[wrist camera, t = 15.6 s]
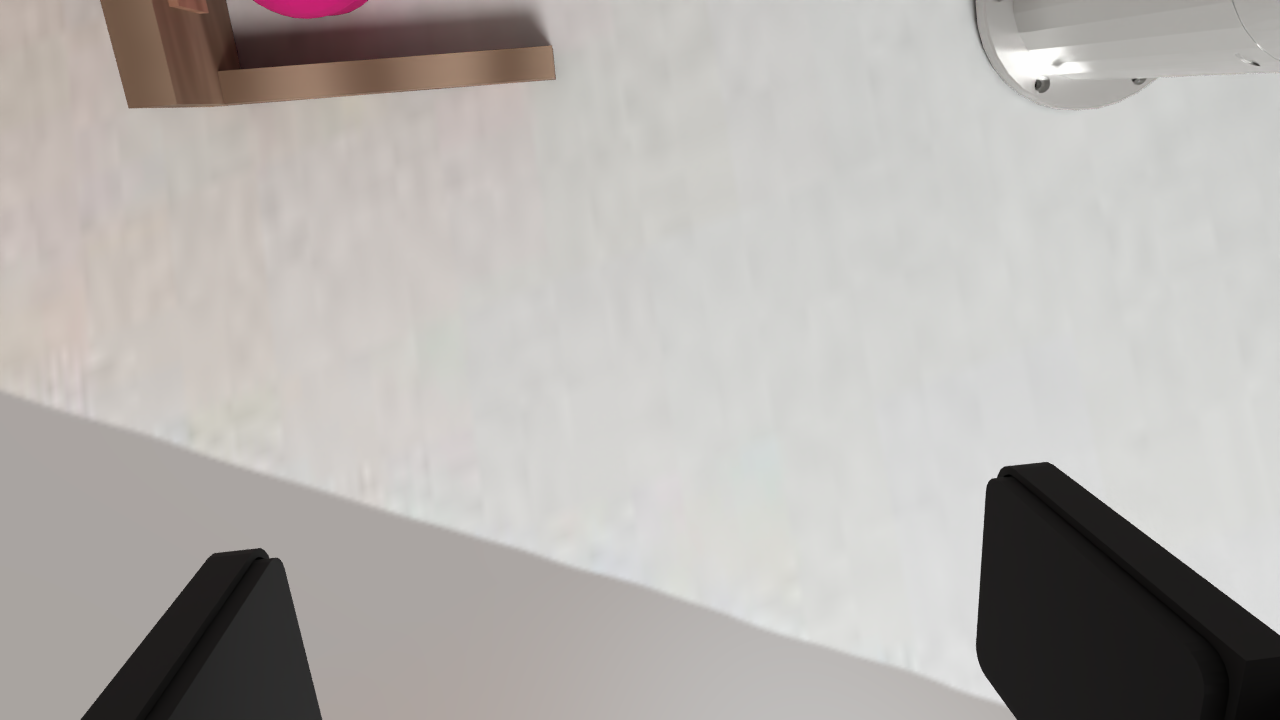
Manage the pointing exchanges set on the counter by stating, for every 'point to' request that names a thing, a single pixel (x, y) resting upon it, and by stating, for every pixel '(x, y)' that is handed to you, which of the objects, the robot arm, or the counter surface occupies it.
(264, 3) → the pepper mill
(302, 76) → the spice rack
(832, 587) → the counter surface
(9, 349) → the counter surface
